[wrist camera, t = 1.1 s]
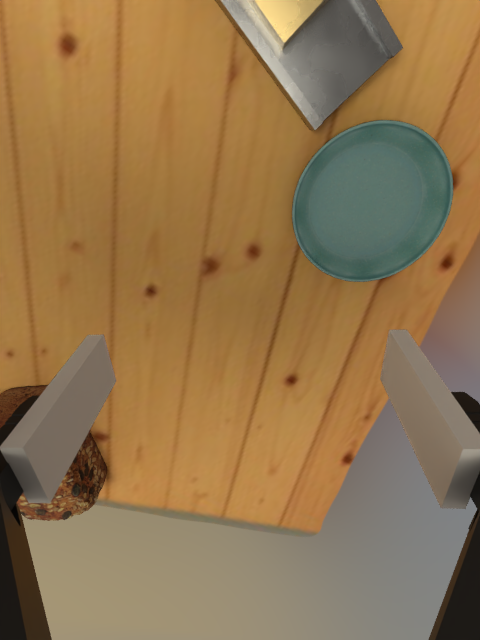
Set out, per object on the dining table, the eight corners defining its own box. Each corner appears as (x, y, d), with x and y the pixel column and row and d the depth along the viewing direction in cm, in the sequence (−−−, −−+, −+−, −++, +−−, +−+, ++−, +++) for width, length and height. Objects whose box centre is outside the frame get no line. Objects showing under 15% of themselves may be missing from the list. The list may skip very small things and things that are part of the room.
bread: (1, 385, 50) (-54, 440, 42) (72, 380, 49) (31, 435, 40) (52, 473, 59) (15, 534, 50) (113, 470, 58) (87, 532, 49)
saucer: (401, 285, 40) (410, 295, 38) (273, 256, 39) (274, 264, 37) (470, 141, 33) (486, 143, 31) (316, 102, 32) (320, 100, 30)
